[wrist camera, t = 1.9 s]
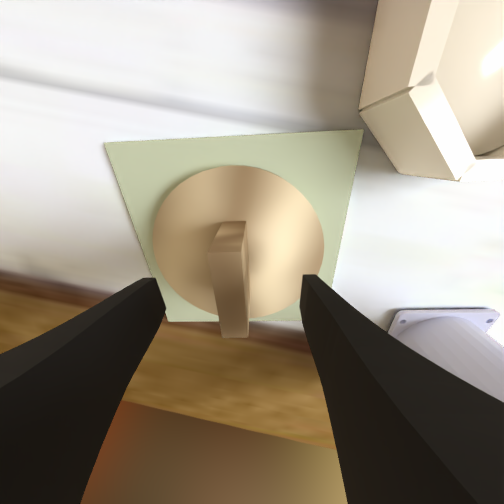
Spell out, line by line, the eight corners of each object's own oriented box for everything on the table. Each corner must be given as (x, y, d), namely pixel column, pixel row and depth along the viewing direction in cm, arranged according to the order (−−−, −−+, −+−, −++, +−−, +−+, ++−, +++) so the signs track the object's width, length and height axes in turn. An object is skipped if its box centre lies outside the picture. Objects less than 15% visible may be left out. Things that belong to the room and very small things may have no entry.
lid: (331, 160, 10) (388, 163, 6) (310, 308, 15) (332, 370, 11) (136, 170, 11) (51, 179, 6) (180, 310, 16) (150, 370, 11)
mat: (323, 316, 16) (324, 320, 16) (170, 318, 17) (168, 321, 17) (360, 130, 10) (363, 129, 9) (108, 143, 10) (103, 142, 10)
